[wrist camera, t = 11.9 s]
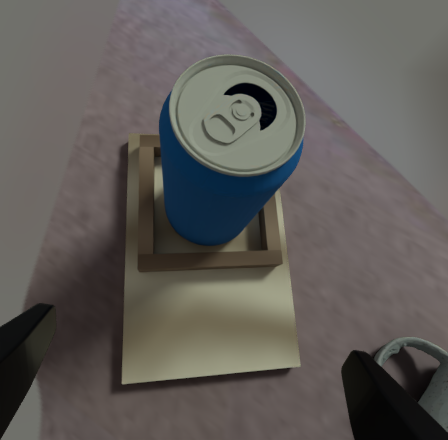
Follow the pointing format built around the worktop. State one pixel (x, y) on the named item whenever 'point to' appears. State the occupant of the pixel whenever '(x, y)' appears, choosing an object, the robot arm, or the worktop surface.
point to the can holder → (201, 288)
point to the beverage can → (227, 145)
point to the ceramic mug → (440, 383)
